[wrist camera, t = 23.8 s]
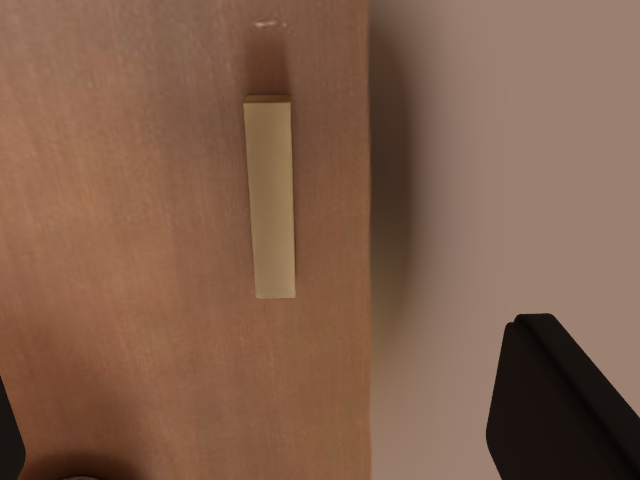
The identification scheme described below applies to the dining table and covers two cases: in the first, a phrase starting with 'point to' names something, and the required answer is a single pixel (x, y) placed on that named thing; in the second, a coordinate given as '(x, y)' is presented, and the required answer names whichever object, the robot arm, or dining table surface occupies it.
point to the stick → (271, 193)
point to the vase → (81, 478)
